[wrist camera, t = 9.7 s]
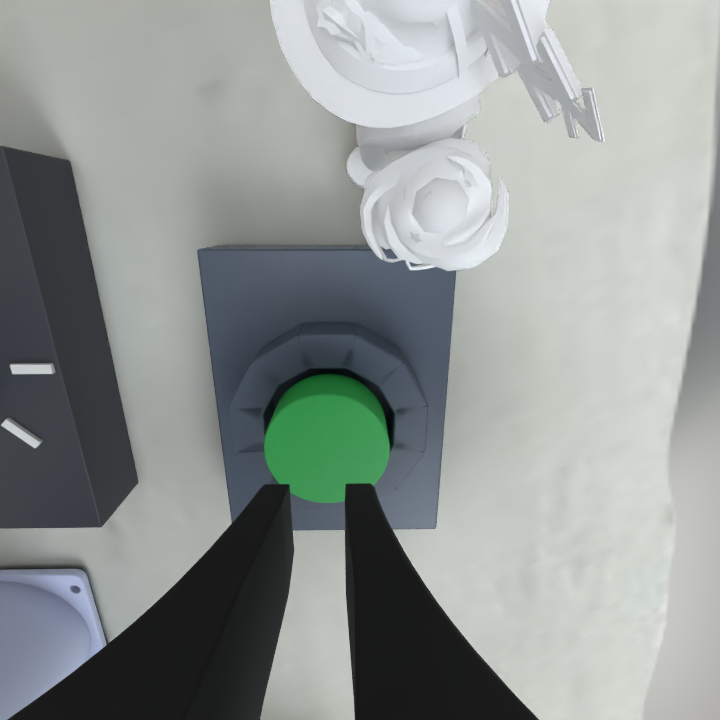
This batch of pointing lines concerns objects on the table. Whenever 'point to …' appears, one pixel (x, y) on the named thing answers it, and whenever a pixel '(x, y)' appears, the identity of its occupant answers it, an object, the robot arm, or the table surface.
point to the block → (330, 361)
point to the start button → (327, 438)
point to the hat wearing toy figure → (427, 109)
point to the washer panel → (54, 359)
